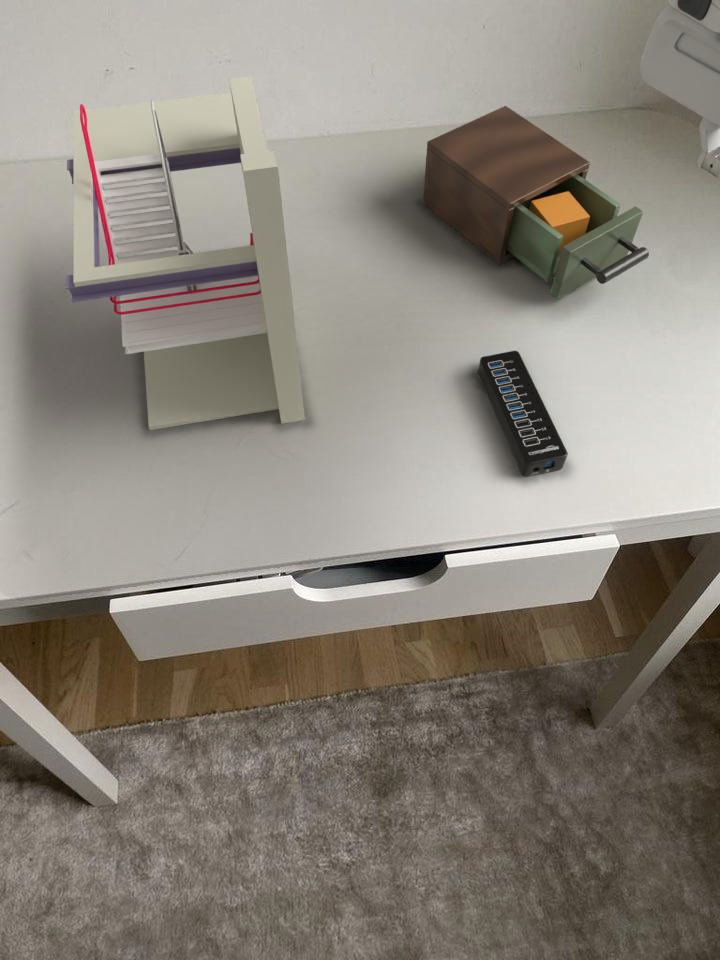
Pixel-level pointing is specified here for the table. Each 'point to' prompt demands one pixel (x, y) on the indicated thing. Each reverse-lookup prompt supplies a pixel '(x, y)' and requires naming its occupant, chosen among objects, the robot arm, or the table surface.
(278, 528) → the table surface
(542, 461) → the multiport hub
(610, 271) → the drawer
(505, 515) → the table surface
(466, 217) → the cabinet
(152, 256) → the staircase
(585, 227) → the block
